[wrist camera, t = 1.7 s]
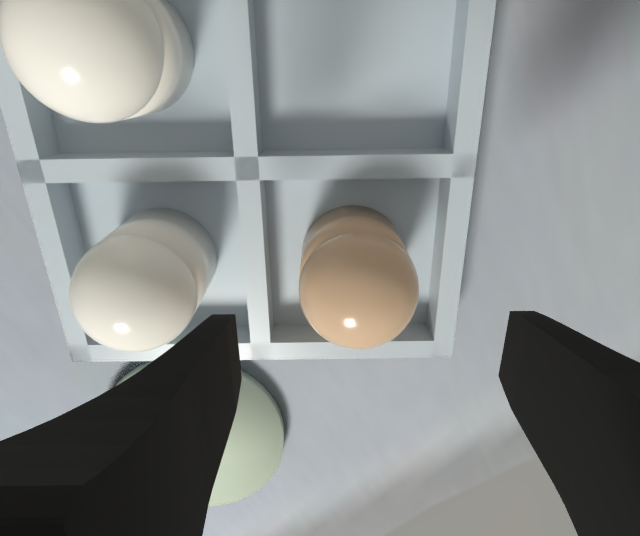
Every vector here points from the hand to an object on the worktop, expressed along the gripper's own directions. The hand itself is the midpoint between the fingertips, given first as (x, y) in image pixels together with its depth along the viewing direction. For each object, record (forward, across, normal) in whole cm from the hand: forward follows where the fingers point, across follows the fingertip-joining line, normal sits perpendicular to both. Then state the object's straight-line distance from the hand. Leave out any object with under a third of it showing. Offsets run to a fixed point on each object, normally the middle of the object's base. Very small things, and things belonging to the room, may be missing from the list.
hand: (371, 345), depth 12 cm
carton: (+7, +4, -4) cm, 9 cm away
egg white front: (+7, +8, -7) cm, 12 cm away
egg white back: (+7, +8, 0) cm, 10 cm away
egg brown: (+7, 0, 0) cm, 7 cm away
